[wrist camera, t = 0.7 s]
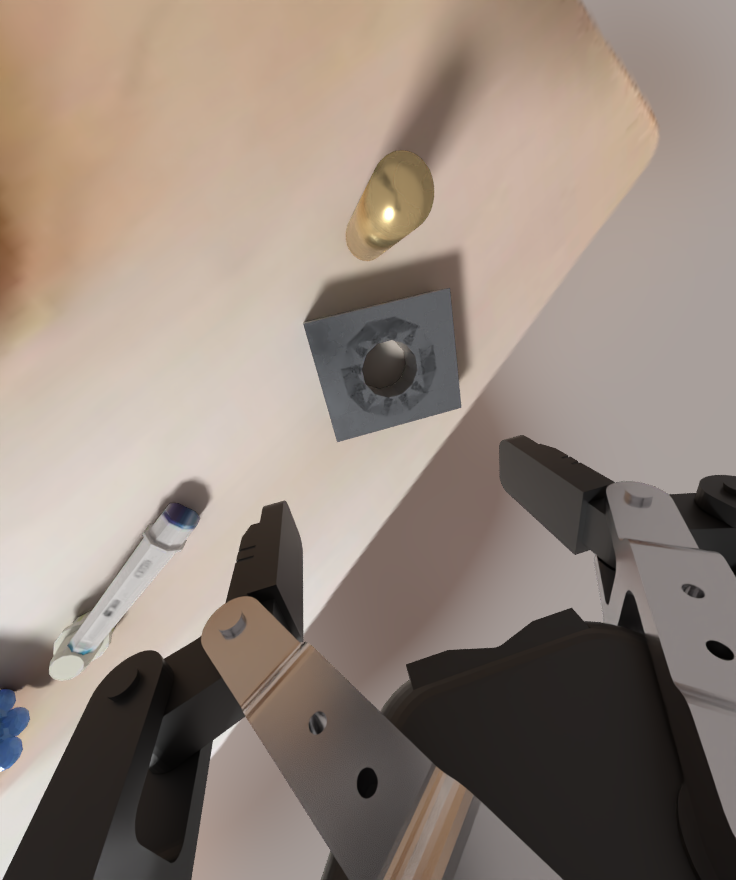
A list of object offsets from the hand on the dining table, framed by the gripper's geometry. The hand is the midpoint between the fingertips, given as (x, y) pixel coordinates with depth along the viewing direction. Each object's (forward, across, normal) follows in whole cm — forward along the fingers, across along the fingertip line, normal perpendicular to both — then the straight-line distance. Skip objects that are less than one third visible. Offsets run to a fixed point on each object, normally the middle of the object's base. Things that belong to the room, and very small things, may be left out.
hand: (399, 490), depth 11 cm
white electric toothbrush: (+25, +31, +19) cm, 44 cm away
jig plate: (+25, -5, +1) cm, 25 cm away
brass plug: (+25, -6, -11) cm, 28 cm away
